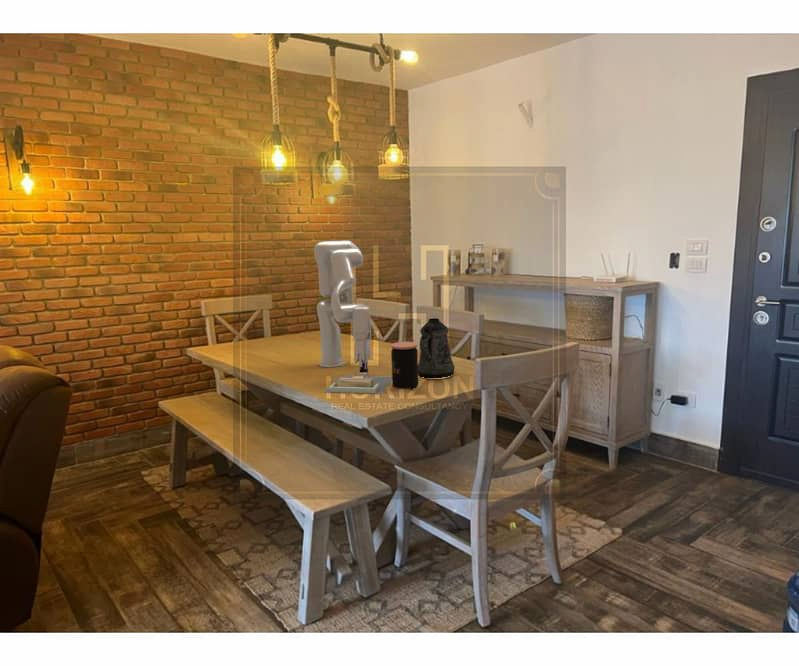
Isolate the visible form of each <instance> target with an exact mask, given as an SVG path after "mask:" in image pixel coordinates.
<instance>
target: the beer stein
mask: <svg viewBox="0 0 799 666" xmlns="http://www.w3.org/2000/svg"><path fill="white" fill-rule="evenodd" d="M449 330H450V329H449V328H448V326H446V325H445V324H444V323H443V322H441V321H440V319H439V318H436V317H435V318H434V317H433V318H429V319H428V321H427V322H426V323H425V324H424V325H423V326H422V327H421V329H420V330H419V331H420V334H421V336H420V339H419V350H420V352H419V359H418V377H419V376H420V378H421V377H424V378H423V379H425V378H442V377H448V376H451V375H453V374H455V363H454V362H453V359H452V355H451V349H450V343H449V339H448V334H449ZM453 376H454V375H453Z"/></svg>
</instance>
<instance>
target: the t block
mask: <svg viewBox="0 0 799 666" xmlns="http://www.w3.org/2000/svg"><path fill="white" fill-rule="evenodd" d="M352 376H353V377H352V378H339V377H338V378H339V379H338V378H337V379H338V380H337V379H336V380H337V387H361V388H373V387H374V380H373V378H368V376H369V372H368V373H365V372H360V371H358V372H355V374H354V375H352Z"/></svg>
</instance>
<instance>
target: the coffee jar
mask: <svg viewBox="0 0 799 666" xmlns="http://www.w3.org/2000/svg"><path fill="white" fill-rule="evenodd" d="M390 346H391V352H390V353H391V356H390V357H391V359H390V360H391V377H392V381H391V382H392V383H391V384H392V387H394V388H396V389H397V388H398V389H409V391H412V390H415V389H417V388H416V387H418V386H419V374H418V364H419V359H418V357H419V356H418V348H417V347H418V343H416V342H413V341H398V342H394V343H391V344H390ZM414 388H415V389H414ZM411 389H412V390H411Z"/></svg>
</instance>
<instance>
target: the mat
mask: <svg viewBox="0 0 799 666" xmlns="http://www.w3.org/2000/svg"><path fill="white" fill-rule="evenodd" d="M353 376H354V375H341V376H339V377H338V378H337V379H336V380H335V381H333V382H332V383H331V384H330V385H329V386H328V387H327V388H326V389H325V390H323V392H322V394H323V393H324V394H353V395H355V394H358V395H359V394H360V395H382V394H383V393H384V392H385V390H386V389H387V388H388V386H389V385H390V384H391V382H392V376H382V375H381V376H378V375H376V376H375V375H368V378H373V380H374V387H373V388H361V387H337V380H338V379H339V378H352V377H353Z"/></svg>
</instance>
